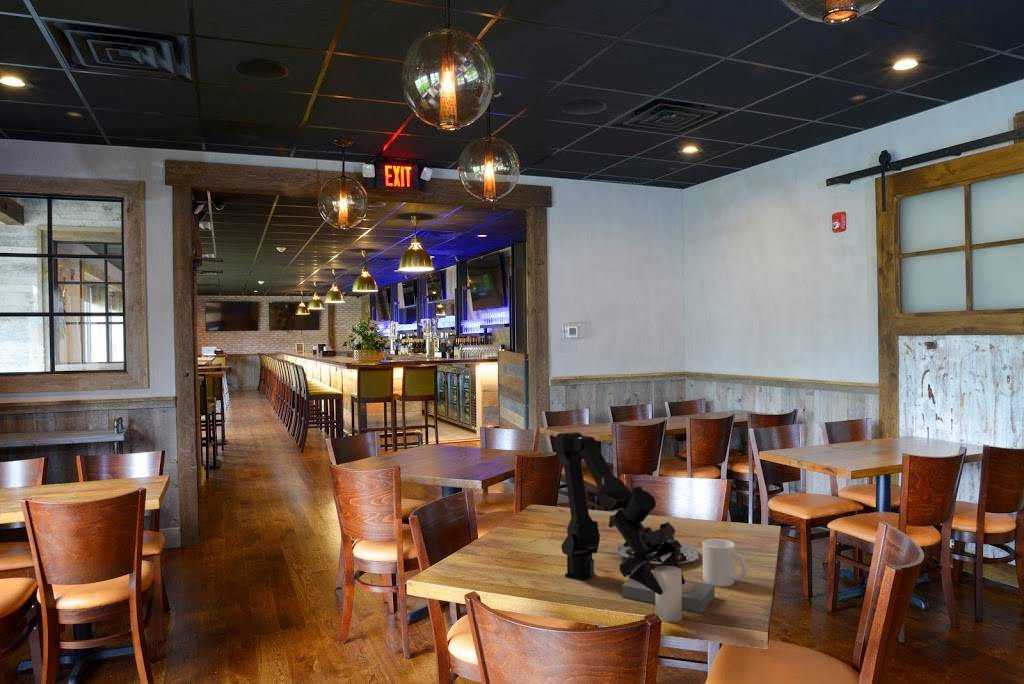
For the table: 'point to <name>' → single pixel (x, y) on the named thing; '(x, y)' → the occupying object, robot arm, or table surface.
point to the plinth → (692, 594)
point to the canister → (669, 593)
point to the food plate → (685, 552)
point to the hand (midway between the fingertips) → (672, 588)
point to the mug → (721, 563)
